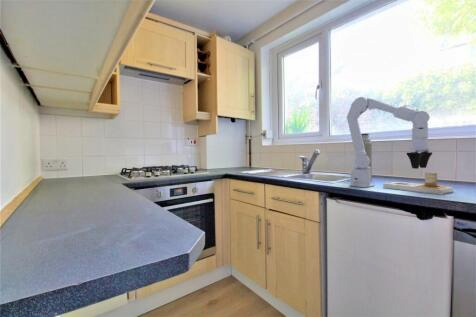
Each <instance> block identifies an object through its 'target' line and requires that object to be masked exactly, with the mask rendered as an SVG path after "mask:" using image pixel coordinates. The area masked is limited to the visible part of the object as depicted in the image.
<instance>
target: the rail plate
mask: <svg viewBox="0 0 476 317" xmlns="http://www.w3.org/2000/svg"><path fill="white" fill-rule="evenodd" d="M382 186H383V188H384V189H390V190H397V191H398V190H400V191H408V192H417V193H423V194H424V193H425V194H431V195H432V194H434V195H440V196H441V195H446V194H449V193H453V192H454V187H453V186H447V185H438V184H437V187H428V186H425V183H416V182H415V183H414V182H404V181H403V182H402V181H392V182H385V183H384V182H383V183H382Z"/></svg>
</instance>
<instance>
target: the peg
mask: <svg viewBox="0 0 476 317" xmlns="http://www.w3.org/2000/svg"><path fill="white" fill-rule="evenodd" d="M424 184H425V186H428V187H437V185H438V173H437V172H431V171H430V172H428V171H427V172H424Z"/></svg>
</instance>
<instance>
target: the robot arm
mask: <svg viewBox="0 0 476 317" xmlns="http://www.w3.org/2000/svg"><path fill="white" fill-rule="evenodd" d="M367 110H368V111H371V110H380V111H383V112H386V113H389V114H392V115H393V117H394V118H397V119H400V120H402V121H406V122H411V124H412V128H411V147H409V150H408V151H409V152H406V156H407V157H408V159H409V161H410V165H411V169H415V170H417V169H420V168H421V169H426V168H427V166H428V163H429V160H430V158H431V156H432V155H433V152H430V150H432V147H428V143H429V142H428V141H429V127H428V126H429V124H428V121H429V120H430V119H431V118H430V115H429V113H428V112H427V111H425V110H420V111H419V109H418V108H411V107H409V106H408V105H406V104H403V105H399V106H394V105H392V104H388V103H385V102H382V101H379V100H377V99H373V98H368V97H367V98H366V97H363V96H359V97H357V98H355V99H354V101H353V102H352V103H351V104H350V107H349V110H348V112H347V115H346V121H347V124H348V128H349V132H350V136H351V140H352V144H353V145H352V146H353V148H354V149H353V150H354V155H355V159H354V164H355V166H354V169H353V170H352V171H350V183H349V186H351V187H358V188H369V187H374V186H375V184H371V169H370V168H371V167H369V166H368V165H369V163H370V159H369V157H368V156H367V154H366V151H365V148H364V144H363V140H362V136H361V134H362V132H361V128H360V123H359V121H358V119H359V118H360V116H362V114H363V113H365V112H366V111H367ZM419 167H420V168H419Z"/></svg>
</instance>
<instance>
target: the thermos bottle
mask: <svg viewBox="0 0 476 317" xmlns="http://www.w3.org/2000/svg"><path fill="white" fill-rule="evenodd" d="M369 135H370V134H369V133H361V136H362V140H363V144H364V148H365V151H366V154H367V156H368V157H369V159H370V163H369V165H368V166H369V167H371V168H370V169H371V180H372V178H373V176H372V174H373V172H372V171H373V166H372V165H373V164H372V163H373V156H372V154H373V152H372V150H373V149H372V148H373V143H372V142H371V138H370V136H369Z"/></svg>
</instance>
